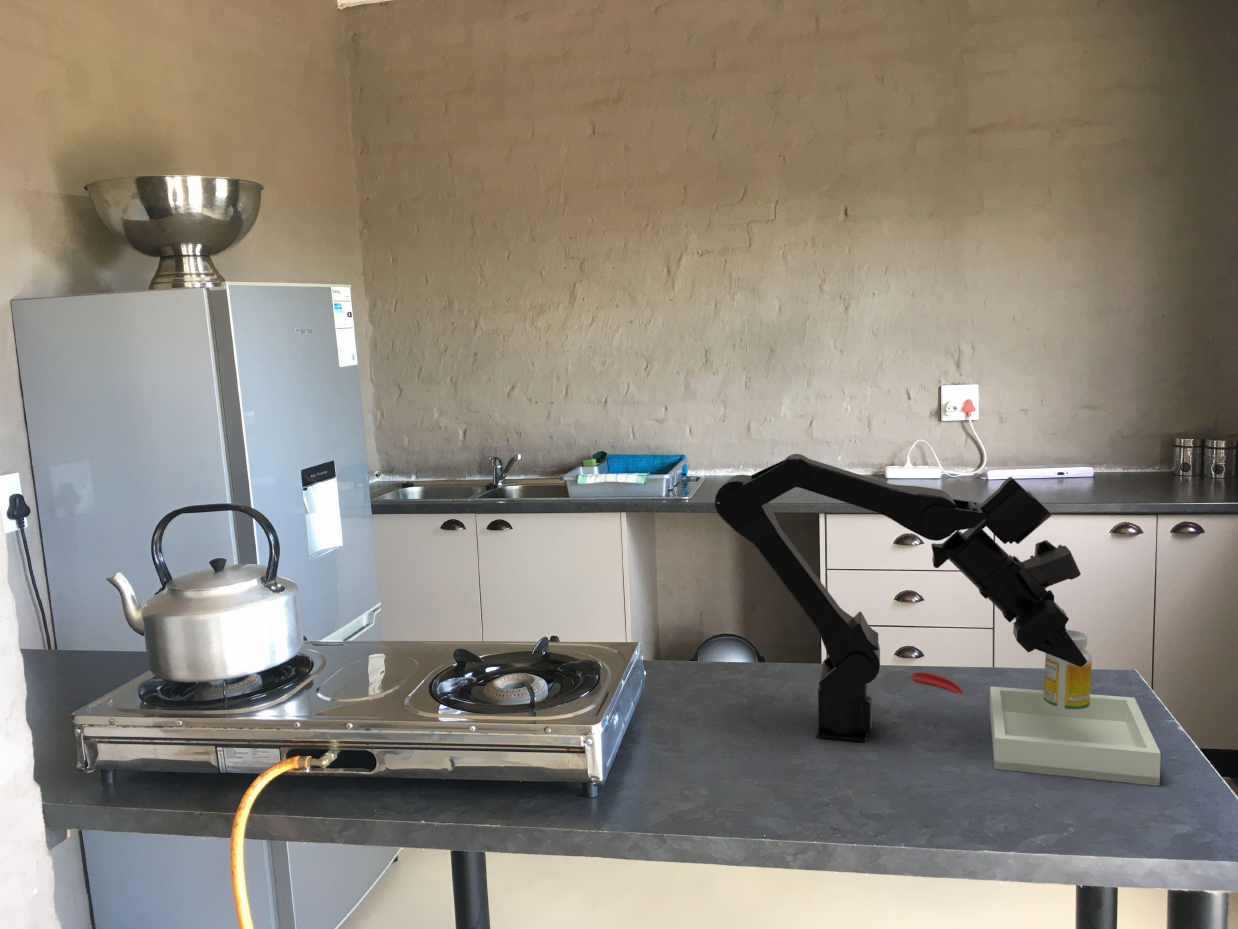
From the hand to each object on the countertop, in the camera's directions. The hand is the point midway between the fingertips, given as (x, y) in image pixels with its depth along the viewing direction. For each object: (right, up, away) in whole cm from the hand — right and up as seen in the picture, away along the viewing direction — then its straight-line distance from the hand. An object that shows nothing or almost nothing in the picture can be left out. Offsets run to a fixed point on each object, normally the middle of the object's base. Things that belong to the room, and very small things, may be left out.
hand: (1079, 656), depth 124 cm
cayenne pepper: (-10, -10, +25) cm, 29 cm away
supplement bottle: (-1, -7, +1) cm, 7 cm away
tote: (-1, -12, +2) cm, 12 cm away
